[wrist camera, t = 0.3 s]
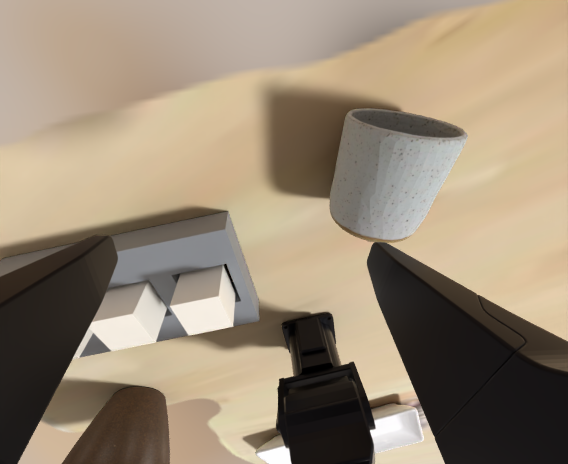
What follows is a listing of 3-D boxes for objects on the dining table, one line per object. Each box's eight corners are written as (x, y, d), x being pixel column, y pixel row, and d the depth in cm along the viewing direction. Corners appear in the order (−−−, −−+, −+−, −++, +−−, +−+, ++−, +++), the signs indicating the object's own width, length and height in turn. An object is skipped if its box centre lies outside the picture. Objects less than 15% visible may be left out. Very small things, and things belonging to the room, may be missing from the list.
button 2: (235, 292, 26) (233, 326, 23) (196, 300, 26) (188, 335, 23) (223, 263, 24) (218, 296, 21) (180, 271, 24) (169, 306, 21)
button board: (258, 299, 30) (259, 321, 28) (83, 335, 31) (68, 359, 28) (228, 211, 24) (225, 229, 21) (3, 258, 24) (-26, 281, 21)
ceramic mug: (316, 202, 24) (342, 254, 18) (332, 104, 20) (374, 128, 13) (422, 203, 26) (480, 252, 19) (459, 113, 21) (551, 137, 15)
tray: (252, 434, 52) (252, 456, 49) (408, 389, 48) (418, 410, 45) (283, 457, 61) (285, 477, 58) (416, 422, 57) (425, 441, 55)
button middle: (167, 306, 26) (155, 342, 23) (129, 314, 26) (111, 351, 23) (149, 278, 24) (133, 313, 21) (107, 287, 24) (84, 323, 21)
